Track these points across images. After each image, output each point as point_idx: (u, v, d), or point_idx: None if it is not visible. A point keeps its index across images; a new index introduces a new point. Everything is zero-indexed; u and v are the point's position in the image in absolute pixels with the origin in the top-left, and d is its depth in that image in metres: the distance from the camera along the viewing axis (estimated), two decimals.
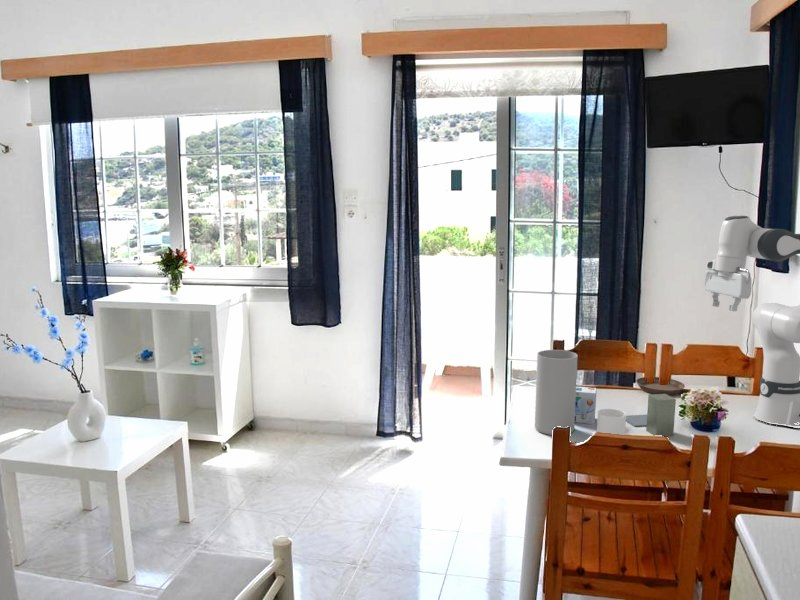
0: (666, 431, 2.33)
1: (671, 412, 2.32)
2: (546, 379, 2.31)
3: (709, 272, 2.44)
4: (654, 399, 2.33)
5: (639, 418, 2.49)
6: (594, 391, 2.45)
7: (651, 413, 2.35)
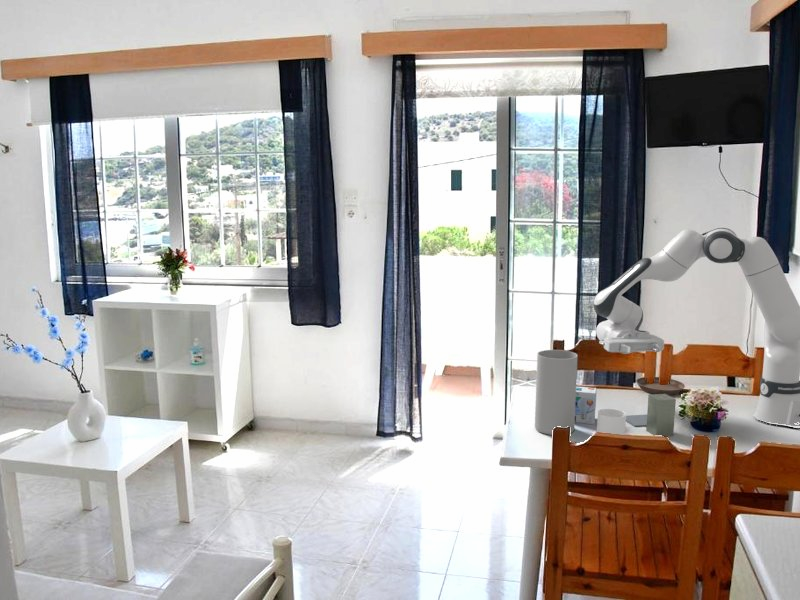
0: (666, 431, 2.33)
1: (671, 412, 2.32)
2: (546, 379, 2.31)
3: None
4: (654, 399, 2.33)
5: (639, 418, 2.49)
6: (594, 391, 2.45)
7: (651, 413, 2.35)
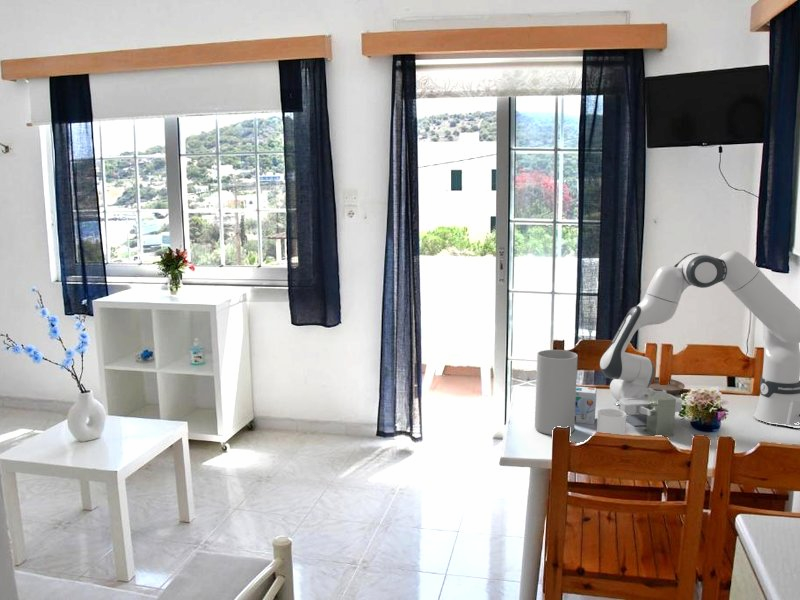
0: (666, 431, 2.33)
1: (671, 412, 2.32)
2: (546, 379, 2.31)
3: None
4: (654, 399, 2.33)
5: (639, 418, 2.49)
6: (594, 391, 2.45)
7: None
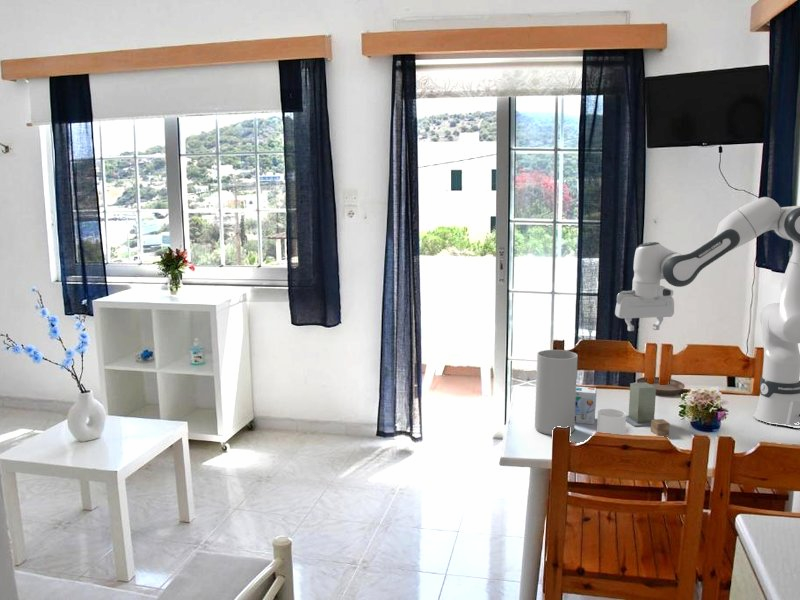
0: (647, 418, 2.45)
1: (652, 400, 2.44)
2: (546, 379, 2.31)
3: None
4: (635, 387, 2.45)
5: None
6: (594, 391, 2.45)
7: (633, 400, 2.47)
